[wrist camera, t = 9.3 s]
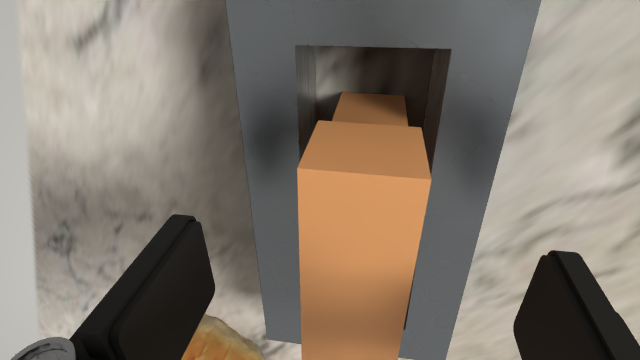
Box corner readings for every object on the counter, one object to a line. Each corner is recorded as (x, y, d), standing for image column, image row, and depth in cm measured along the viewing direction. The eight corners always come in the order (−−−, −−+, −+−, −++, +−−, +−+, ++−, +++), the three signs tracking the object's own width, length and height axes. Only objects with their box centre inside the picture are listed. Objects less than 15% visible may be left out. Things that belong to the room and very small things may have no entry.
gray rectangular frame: (258, -34, 13) (221, -32, 10) (510, -36, 12) (550, -35, 9) (284, 286, 21) (267, 339, 18) (436, 304, 20) (444, 363, 17)
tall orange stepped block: (336, 79, 15) (297, 167, 9) (412, 83, 14) (431, 179, 8) (331, 235, 19) (302, 375, 13) (390, 242, 19) (391, 389, 12)
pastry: (281, 330, 24) (264, 388, 21) (260, 383, 27) (243, 440, 24) (141, 283, 24) (102, 335, 20) (139, 343, 27) (105, 395, 24)
